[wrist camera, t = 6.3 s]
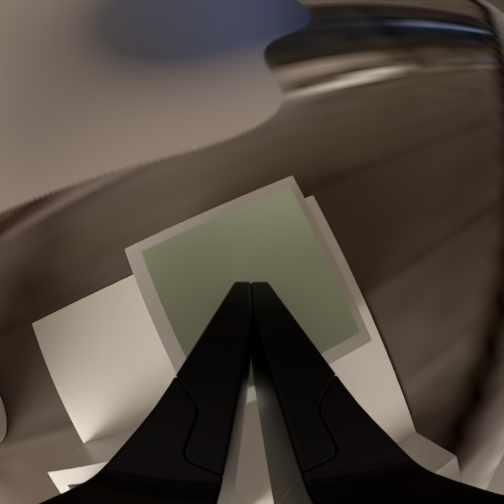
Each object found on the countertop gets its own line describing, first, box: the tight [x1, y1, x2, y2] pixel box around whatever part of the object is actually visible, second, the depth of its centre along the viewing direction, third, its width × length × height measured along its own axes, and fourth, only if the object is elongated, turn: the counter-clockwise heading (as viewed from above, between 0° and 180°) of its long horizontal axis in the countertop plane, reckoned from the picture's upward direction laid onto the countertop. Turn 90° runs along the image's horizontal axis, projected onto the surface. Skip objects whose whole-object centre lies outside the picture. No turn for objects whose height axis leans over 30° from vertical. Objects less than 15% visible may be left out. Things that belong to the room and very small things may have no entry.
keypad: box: [32, 176, 462, 504], centre depth 12 cm, size 22×18×4 cm
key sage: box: [141, 186, 360, 388], centre depth 11 cm, size 5×5×6 cm
